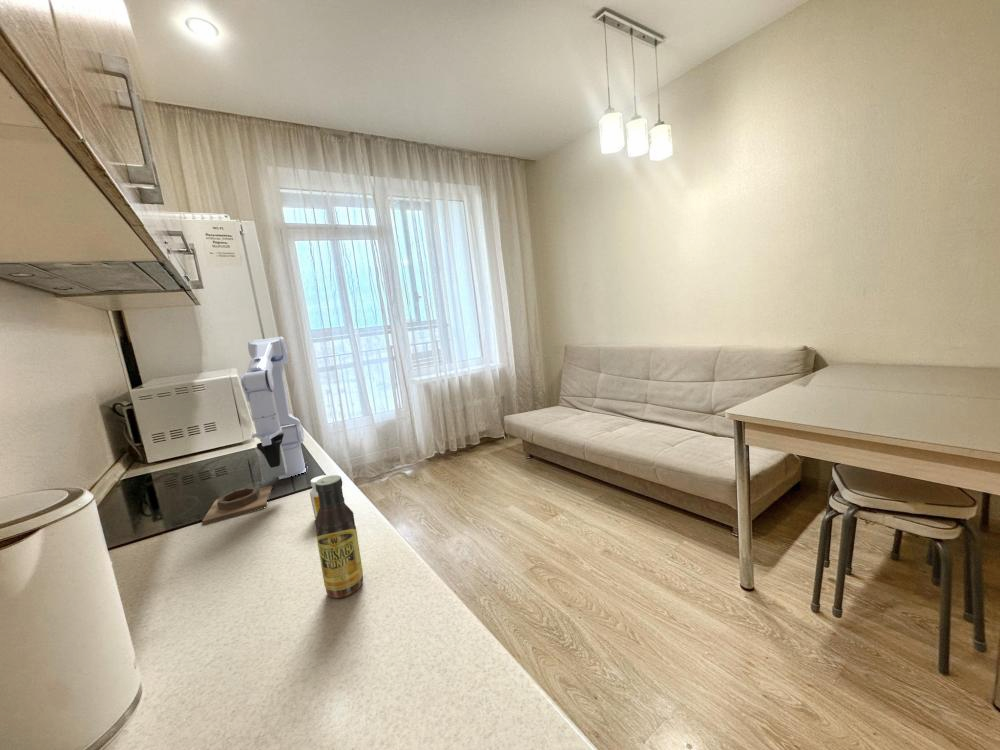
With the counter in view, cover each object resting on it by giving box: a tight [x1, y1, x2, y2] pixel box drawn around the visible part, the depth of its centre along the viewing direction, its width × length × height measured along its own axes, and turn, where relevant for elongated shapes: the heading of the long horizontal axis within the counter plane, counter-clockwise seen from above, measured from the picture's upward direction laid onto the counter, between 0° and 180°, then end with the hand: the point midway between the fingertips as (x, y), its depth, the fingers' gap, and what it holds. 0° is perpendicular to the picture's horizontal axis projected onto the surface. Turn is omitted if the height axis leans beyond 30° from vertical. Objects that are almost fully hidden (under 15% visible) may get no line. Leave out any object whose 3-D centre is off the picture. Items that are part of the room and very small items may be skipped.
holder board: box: [201, 484, 274, 526], centre depth 107 cm, size 14×14×3 cm
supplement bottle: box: [309, 474, 328, 520], centre depth 94 cm, size 5×5×10 cm
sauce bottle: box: [314, 474, 364, 599], centre depth 66 cm, size 7×6×20 cm
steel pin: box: [263, 443, 287, 479], centre depth 106 cm, size 4×4×8 cm
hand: (276, 463), depth 106 cm, fingers closed on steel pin, 4 cm apart
